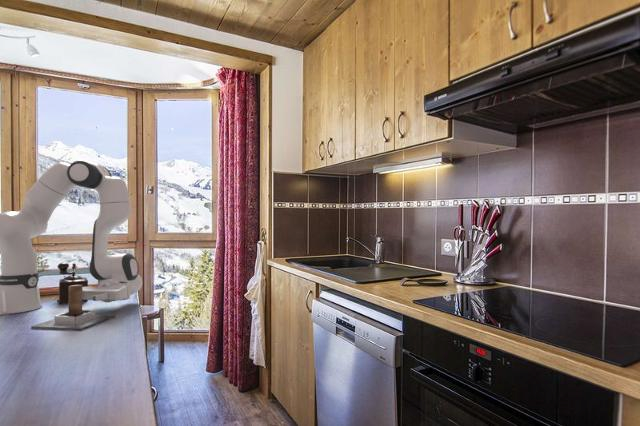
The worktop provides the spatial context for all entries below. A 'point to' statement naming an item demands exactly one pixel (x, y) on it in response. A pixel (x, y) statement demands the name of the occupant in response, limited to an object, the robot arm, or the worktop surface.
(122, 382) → the worktop surface
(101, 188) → the robot arm
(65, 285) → the manual coffee grinder
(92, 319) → the plate
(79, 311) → the walnut peg
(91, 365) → the worktop surface
